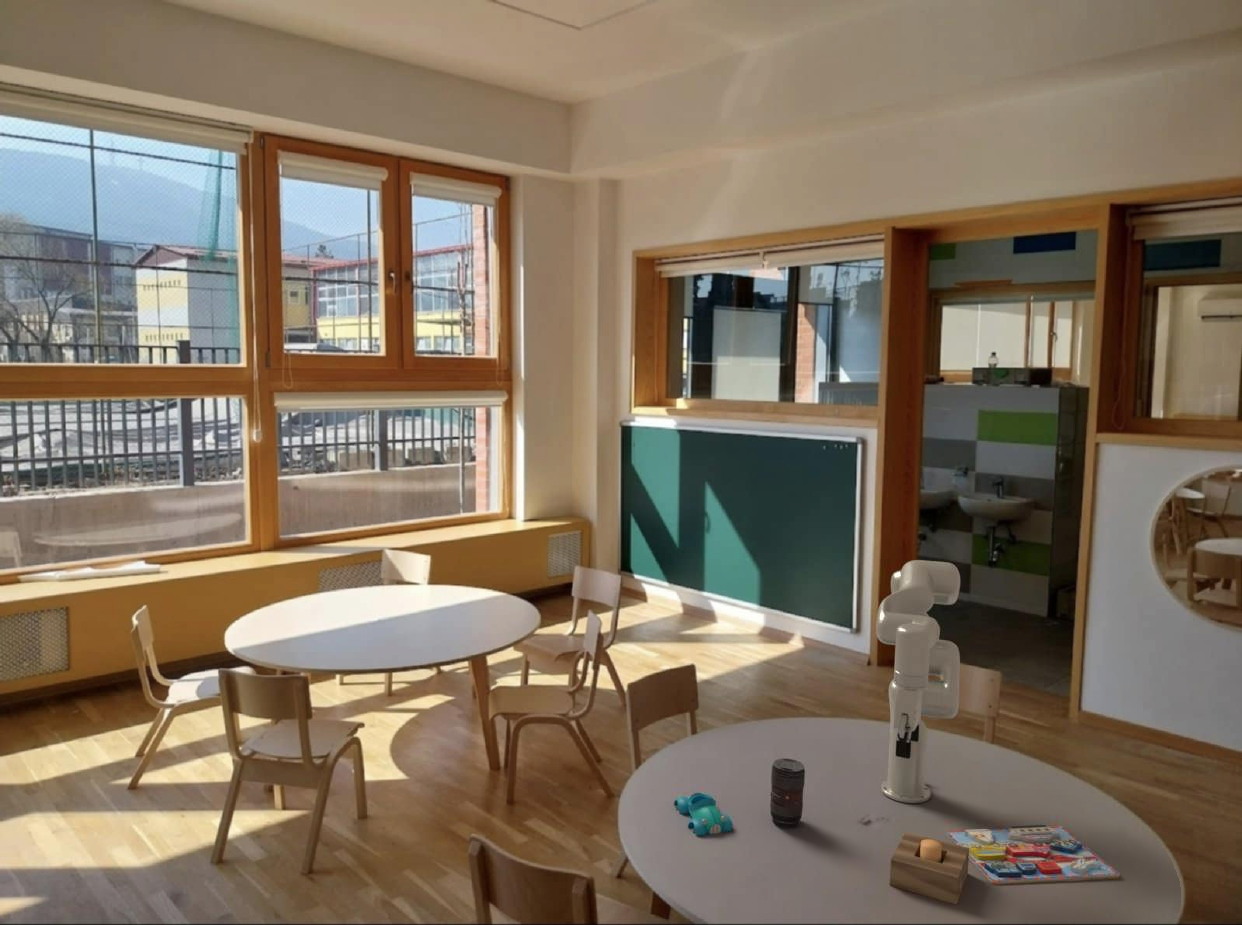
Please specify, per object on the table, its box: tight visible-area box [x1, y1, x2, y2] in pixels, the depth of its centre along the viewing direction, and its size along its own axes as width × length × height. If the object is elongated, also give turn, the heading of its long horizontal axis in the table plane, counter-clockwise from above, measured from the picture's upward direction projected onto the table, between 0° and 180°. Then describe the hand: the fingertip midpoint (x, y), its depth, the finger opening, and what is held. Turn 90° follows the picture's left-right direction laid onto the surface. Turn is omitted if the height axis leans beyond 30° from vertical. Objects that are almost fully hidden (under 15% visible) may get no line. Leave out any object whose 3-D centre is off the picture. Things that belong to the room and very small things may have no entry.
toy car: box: [673, 792, 733, 837], centre depth 232 cm, size 11×18×7 cm, turn 17°
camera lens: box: [769, 757, 806, 829], centre depth 229 cm, size 8×8×15 cm
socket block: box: [889, 831, 970, 905], centre depth 205 cm, size 14×14×6 cm
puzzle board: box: [945, 824, 1121, 885], centre depth 217 cm, size 30×23×3 cm
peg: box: [920, 839, 942, 863], centre depth 205 cm, size 4×4×8 cm
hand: (907, 748), depth 215 cm, fingers open, 9 cm apart
